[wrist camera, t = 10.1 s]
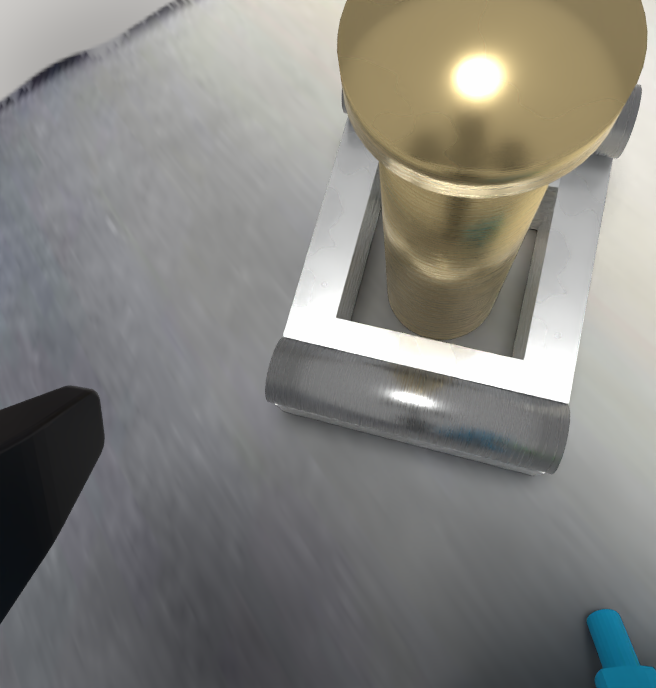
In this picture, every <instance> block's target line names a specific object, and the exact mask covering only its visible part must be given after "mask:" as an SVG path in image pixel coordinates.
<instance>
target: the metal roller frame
mask: <svg viewBox="0 0 656 688" xmlns="http://www.w3.org/2000/svg"><path fill="white" fill-rule="evenodd" d="M641 93H642V88H641V85H638V84H636V86H635V87H634V89H633V91H632V93H631V95H630V96H629V98H628V100H627V102H626V104H625V105H624V107H623V109H622V111H621V113H620V114H619V116H618V118H617V120H616V121H615V123H614V125H613V127H612V129H611V130H610V132H609V134H608V136H607V137H606V138H605V139H604V141H603V142H602V143H601V145H600V146H599V147H598V149H597V150H596V151H595V152H594V153H593V154H591V155H590V156H589V157H588V158H587V159H586V160H585V161H584V162H583V163H582V164H580V165H579V166H578V167H576V168H575V169H574V170H572V171H571V172H570V173H568V174H566V175H564V176H563V177H561V178H559V179H557V180H556V181H554V182H552V183H549V185H548V187H547V190H546V192H545V194H544V196H543V198H542V201H541V203H540V205H539V207H538V209H537V211H536V214H535V216H534V218H533V220H532V222H531V224H530V227H529V229H534V230H538V231H537V236H536V241H535V245H534V250H533V255H532V260H531V265H530V270H529V275H528V280H527V284H526V289H525V294H524V299H523V304H522V309H521V314H520V318H519V323H518V328H517V333H516V338H515V343H514V348H513V353H512V357H511V358H510V357H506V356H502V355H497V354H493V353H488V352H484V351H480V350H475V349H471V348H466V347H462V346H457V345H453V344H449V343H444V342H440V341H435V340H431V339H427V338H422V337H418V336H413V335H409V334H405V333H400V332H396V331H391V330H387V329H382V328H378V327H374V326H369V325H365V324H360V323H356V322H352V321H350V320H351V316H352V312H353V309H354V305H355V301H356V298H357V294H358V290H359V287H360V283H361V279H362V276H363V272H364V268H365V265H366V261H367V257H368V254H369V250H370V246H371V242H372V239H373V235H374V231H375V228H376V224H377V220H378V217H379V213H380V209H381V206H382V200H381V185H380V170H379V161H378V160H377V159H376V158H375V157H374V156H373V155H372V154H371V153H370V152H369V151H368V149H367V148H366V147H365V146H364V144H363V143H362V141H361V140H360V138H359V137H358V135H357V134H356V132H355V130H354V128H353V126H352V124H351V122H350V119H349V117H348V118H347V122H346V125H345V128H344V132H343V135H342V139H341V142H340V145H339V149H338V152H337V155H336V159H335V162H334V166H333V169H332V172H331V176H330V179H329V182H328V186H327V189H326V193H325V196H324V199H323V203H322V206H321V209H320V213H319V216H318V220H317V223H316V226H315V230H314V233H313V236H312V240H311V243H310V247H309V250H308V253H307V257H306V260H305V264H304V267H303V270H302V274H301V277H300V280H299V284H298V287H297V291H296V294H295V297H294V301H293V304H292V307H291V311H290V314H289V318H288V321H287V324H286V328H285V331H284V334H283V337H282V338H281V339H280V340H279V342H278V344H277V346H276V348H275V350H274V352H273V355H272V358H271V361H270V365H269V369H268V373H267V379H266V388H265V394H266V400H267V401H268V402H271V403H275V404H276V405H277V406H278V407H279V408H280V409H281V410H282V411H284V412H288V413H291V414H295V415H299V416H303V417H307V418H311V419H315V420H319V421H323V422H326V423H330V424H334V425H338V426H342V427H346V428H350V429H354V430H357V431H361V432H365V433H369V434H373V435H377V436H381V437H385V438H388V439H392V440H396V441H400V442H404V443H408V444H412V445H416V446H420V447H423V448H427V449H431V450H435V451H439V452H443V453H447V454H451V455H454V456H458V457H462V458H466V459H470V460H474V461H478V462H482V463H485V464H489V465H493V466H497V467H501V468H505V469H509V470H513V471H517V472H520V473H524V474H528V475H532V476H535V475H539V474H543V473H548V474H553V473H554V472H555V471H556V470H557V468H558V466H559V464H560V461H561V459H562V456H563V453H564V449H565V446H566V441H567V437H568V431H569V424H570V408H569V405H568V404H569V399H570V393H571V388H572V382H573V376H574V371H575V365H576V360H577V354H578V349H579V343H580V338H581V332H582V327H583V321H584V315H585V310H586V304H587V299H588V293H589V288H590V282H591V277H592V271H593V265H594V260H595V254H596V249H597V243H598V238H599V232H600V227H601V221H602V216H603V210H604V204H605V199H606V193H607V188H608V182H609V177H610V171H611V166H612V160H613V158H618V157H619V156H620V155H621V154H622V152H623V150H624V149H625V147H626V144H627V142H628V140H629V138H630V135H631V132H632V130H633V127H634V124H635V121H636V117H637V114H638V110H639V105H640V100H641ZM342 108H343V111H344V113H347V110H346V107H345V103H344V96H343V89H342ZM347 114H348V113H347Z"/></svg>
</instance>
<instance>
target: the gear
mask: <svg viewBox="0 0 656 688" xmlns="http://www.w3.org/2000/svg"><path fill="white" fill-rule="evenodd" d="M587 625H588V627H589V630H590V633H591V636H592V639H593V641H594V644H595V647H596V650H597V653H598V655H599V658H600V661H601V664H602V667H603V669H601V670H600V671H599V672H598V673H597V674H596V676H595V685H596V688H656V670H655V669H654V668H653V667H649V666H641V665H640V663H639V661H638V658H637V656H636V653H635V651H634V648H633V646H632V644H631V641H630V639H629V636H628V634H627V632H626V629H625V627H624V624H623V622H622V620H621V617H620V615H619V613H617V612H616V611H614V610H610V609H602V610H598V611H595V612H593V613H591V614H590V615H589V616H588V618H587Z"/></svg>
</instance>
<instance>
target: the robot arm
mask: <svg viewBox="0 0 656 688" xmlns="http://www.w3.org/2000/svg"><path fill="white" fill-rule="evenodd" d="M104 439H105V436H104V427H103V419H102V412H101V404H100V398H99V395H98V393H97V392H96V391H94V390H93V389H89V388H83V387H77V386H64V387H61V388H59V389H56V390H53V391H51V392H48V393H45V394H42V395H40V396H37V397H34V398H32V399H29V400H26V401H23V402H21V403H18V404H15V405H12V406H10V407H7V408H4V409H2V410H0V624H1V622H2V621H3V619H4V618H5V616H6V615H7V613H8V612H9V610H10V609H11V607H12V606H13V604H14V603H15V601H16V600H17V598H18V597H19V595H20V594H21V592H22V591H23V589H24V588H25V586H26V585H27V583H28V582H29V580H30V579H31V577H32V576H33V574H34V573H35V571H36V570H37V568H38V567H39V565H40V564H41V562H42V561H43V559H44V557H45V556H46V554H47V553H48V551H49V550H50V548H51V546H52V545H53V543H54V542H55V540H56V538H57V536H58V534H59V533H60V531H61V529H62V527H63V525H64V524H65V522H66V520H67V518H68V516H69V514H70V512H71V510H72V508H73V506H74V504H75V502H76V501H77V499H78V497H79V495H80V493H81V491H82V489H83V487H84V485H85V483H86V481H87V479H88V478H89V476H90V474H91V472H92V470H93V468H94V466H95V464H96V462H97V460H98V458H99V456H100V454H101V452H102V449H103V446H104Z"/></svg>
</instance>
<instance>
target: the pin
mask: <svg viewBox="0 0 656 688" xmlns="http://www.w3.org/2000/svg"><path fill="white" fill-rule="evenodd" d="M646 50H647V25H646V17H645V12H644V9H643V5H642V2H641V0H347V2H346V4H345V7H344V10H343V13H342V16H341V19H340V24H339V30H338V39H337V53H338V61H339V68H340V75H341V82H342V89H343V96H344V103H345V107H346V110H347V113H348V117H349V119H350V122H351V124H352V126H353V128H354V130H355V132H356V134H357V135H358V137H359V138H360V140H361V141H362V143H363V144H364V146H365V147H366V148H367V149H368V151H369V152H370V153H371V154H372V155H373V156H374V157H375V158H376V159H377V160H378V161H379V170H380V185H381V200H382V215H383V230H384V245H385V260H386V275H387V290H388V298H389V302H390V305H391V308H392V310H393V312H394V314H395V315H396V317H397V318H398V319H399V321H400V322H401V323H402V324H403V325H404V326H405V327H407V328H408V329H409V330H411V331H412V332H414V333H416V334H418V335H421V336H423V337H426V338H430V339H438V340H447V339H454V338H457V337H461V336H463V335H466V334H468V333H470V332H471V331H473V330H474V329H476V328H477V327H478V326H479V325H480V324H481V323H482V322H483V321H484V320H485V319H486V318H487V316H488V315H489V313H490V311H491V309H492V307H493V305H494V303H495V301H496V298H497V296H498V294H499V292H500V290H501V288H502V285H503V283H504V281H505V279H506V277H507V274H508V272H509V270H510V268H511V266H512V264H513V261H514V259H515V257H516V255H517V253H518V251H519V248H520V246H521V244H522V242H523V240H524V238H525V235H526V233H527V231H528V229H529V227H530V224H531V222H532V220H533V218H534V216H535V214H536V211H537V209H538V207H539V205H540V203H541V201H542V198H543V196H544V194H545V192H546V190H547V187H548V185H549V183H552V182H554V181H556V180H557V179H559V178H561V177H563V176H564V175H566V174H568V173H570V172H571V171H572V170H574V169H575V168H576V167H578V166H579V165H580V164H582V163H583V162H584V161H585V160H586V159H587V158H588V157H589V156H590V155H591V154H593V153H594V152H595V151H596V150H597V149H598V147H599V146H600V145H601V143H602V142H603V141H604V139H605V138H606V137H607V136H608V134H609V132H610V130H611V129H612V127H613V125H614V123H615V121H616V120H617V118H618V116H619V114H620V113H621V111H622V109H623V107H624V105H625V104H626V102H627V100H628V98H629V96H630V95H631V93H632V91H633V89H634V87H635V86H636V84H637V82H638V79H639V76H640V74H641V71H642V68H643V65H644V60H645V55H646Z"/></svg>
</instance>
